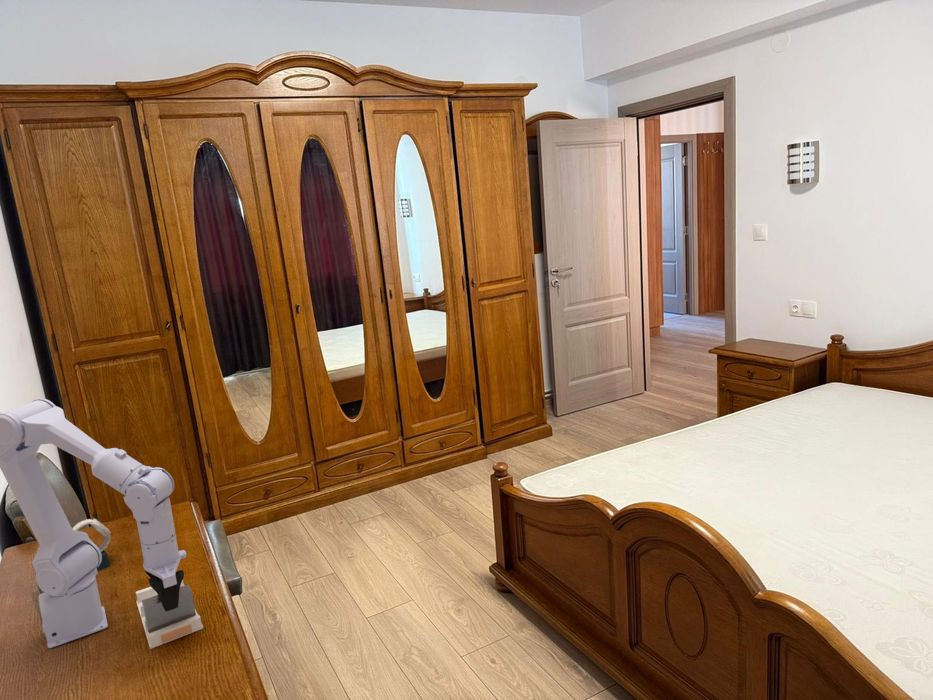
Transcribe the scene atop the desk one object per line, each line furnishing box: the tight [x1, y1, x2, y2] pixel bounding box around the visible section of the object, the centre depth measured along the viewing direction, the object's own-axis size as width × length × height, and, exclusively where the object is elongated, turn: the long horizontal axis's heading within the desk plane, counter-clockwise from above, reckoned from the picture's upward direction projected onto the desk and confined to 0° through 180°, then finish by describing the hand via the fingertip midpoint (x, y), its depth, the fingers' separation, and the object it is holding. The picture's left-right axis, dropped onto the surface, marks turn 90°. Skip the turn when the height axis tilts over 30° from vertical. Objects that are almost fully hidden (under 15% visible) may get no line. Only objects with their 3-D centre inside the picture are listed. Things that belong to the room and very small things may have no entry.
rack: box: [135, 579, 204, 650], centre depth 119 cm, size 9×18×2 cm, turn 35°
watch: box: [72, 518, 112, 572], centre depth 138 cm, size 6×8×11 cm
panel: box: [142, 583, 196, 633], centre depth 114 cm, size 8×3×5 cm, turn 125°
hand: (169, 604), depth 114 cm, fingers closed on panel, 3 cm apart
